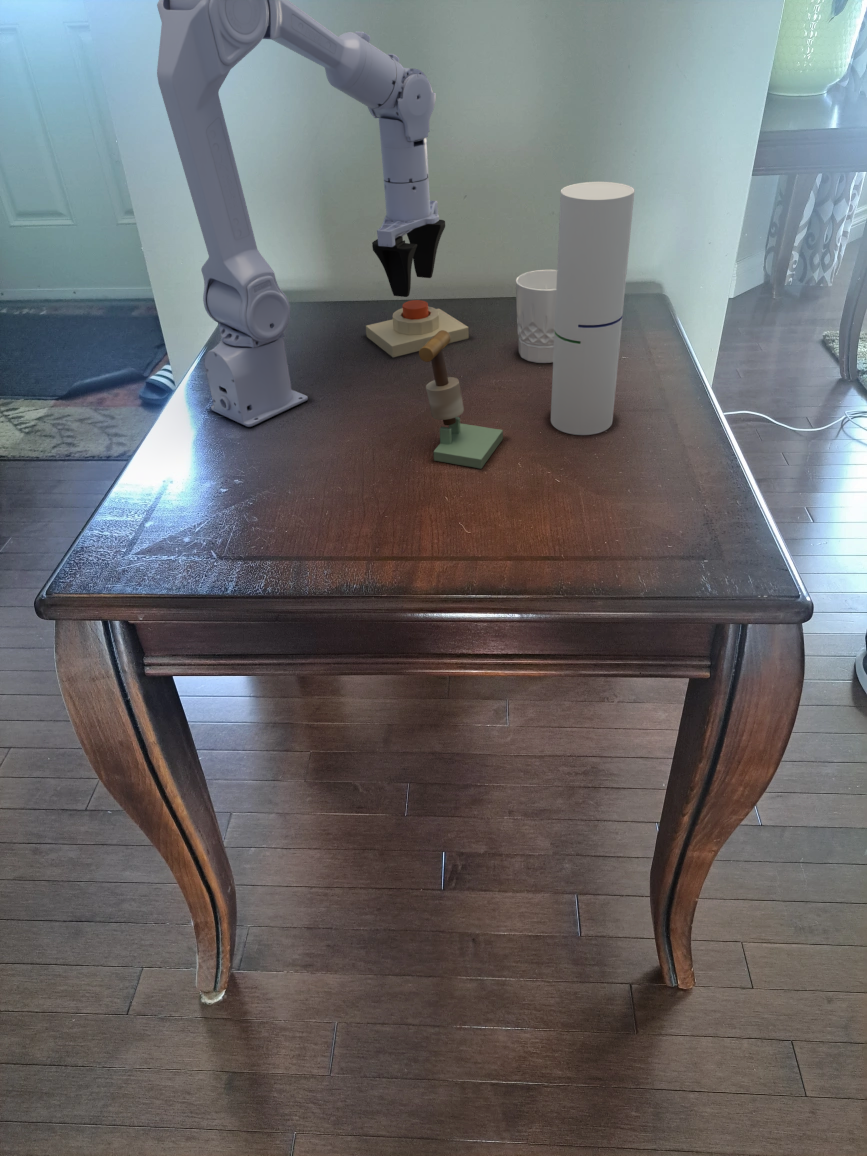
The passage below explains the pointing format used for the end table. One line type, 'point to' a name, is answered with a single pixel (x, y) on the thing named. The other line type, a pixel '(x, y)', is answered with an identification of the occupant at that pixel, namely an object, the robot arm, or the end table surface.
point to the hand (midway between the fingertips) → (413, 286)
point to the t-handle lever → (441, 382)
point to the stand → (467, 444)
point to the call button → (415, 309)
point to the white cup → (536, 314)
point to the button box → (414, 331)
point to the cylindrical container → (589, 304)
